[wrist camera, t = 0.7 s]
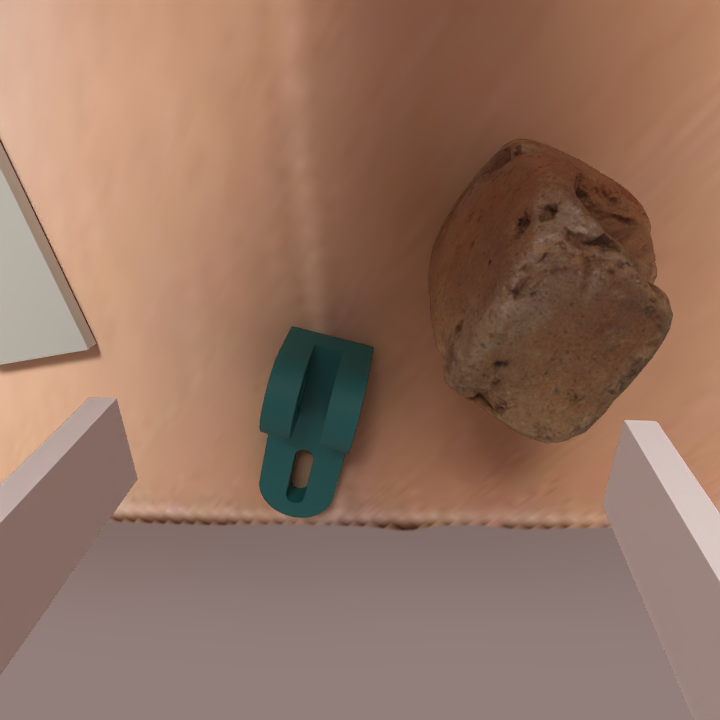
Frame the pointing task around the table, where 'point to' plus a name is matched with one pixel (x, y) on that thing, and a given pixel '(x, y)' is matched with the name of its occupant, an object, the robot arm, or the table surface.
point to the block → (545, 292)
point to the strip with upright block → (32, 284)
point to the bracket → (311, 417)
